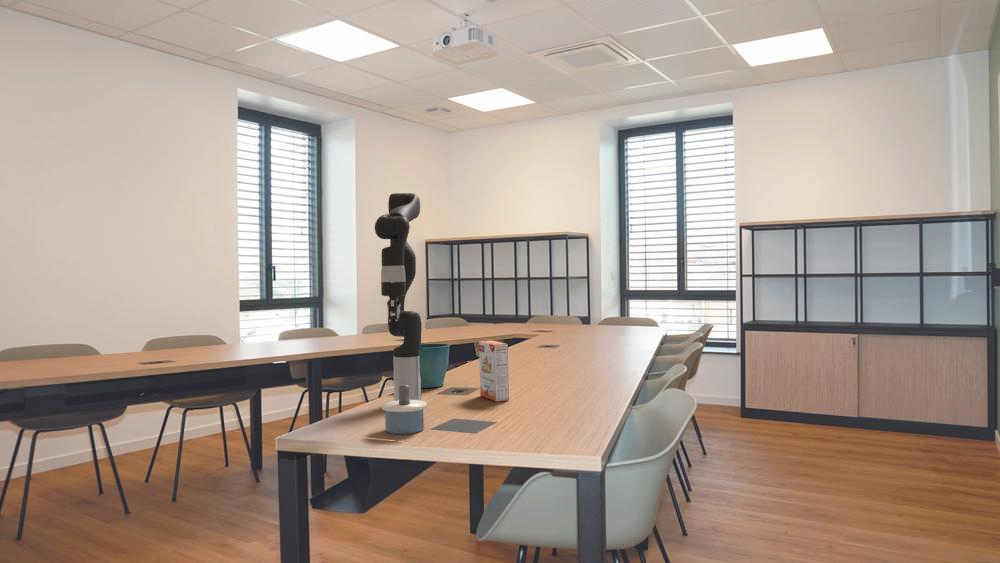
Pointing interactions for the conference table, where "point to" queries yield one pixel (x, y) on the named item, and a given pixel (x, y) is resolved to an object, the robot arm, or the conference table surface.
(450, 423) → the mat
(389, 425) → the bowl
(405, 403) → the lid
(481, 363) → the cracker box
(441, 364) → the flower pot
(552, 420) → the conference table surface
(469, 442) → the conference table surface
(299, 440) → the conference table surface
